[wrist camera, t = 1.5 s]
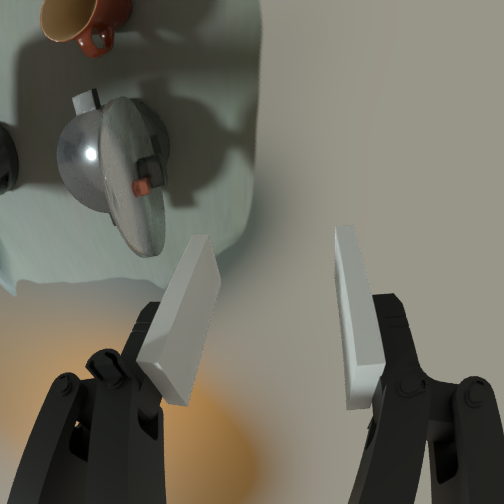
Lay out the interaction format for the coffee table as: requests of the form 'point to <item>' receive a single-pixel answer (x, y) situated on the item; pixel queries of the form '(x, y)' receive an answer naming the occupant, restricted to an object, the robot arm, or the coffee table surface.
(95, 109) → the pot
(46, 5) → the mug
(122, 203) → the lid
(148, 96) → the coffee table surface
